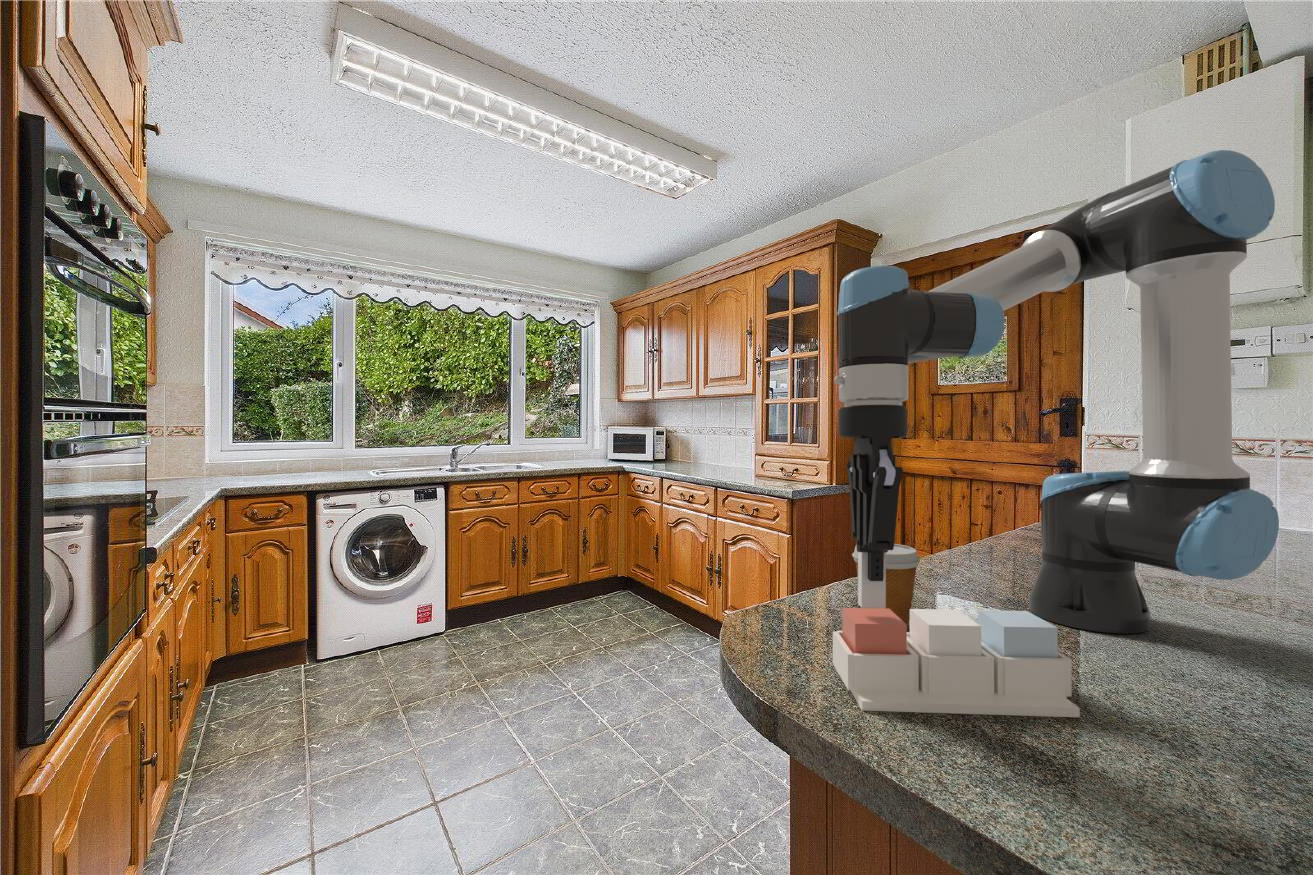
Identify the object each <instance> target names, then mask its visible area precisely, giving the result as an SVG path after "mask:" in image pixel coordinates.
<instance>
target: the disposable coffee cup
mask: <svg viewBox="0 0 1313 875" xmlns="http://www.w3.org/2000/svg"><path fill="white" fill-rule="evenodd" d="M851 556H852V557H853V561H855V568H856V574H857V577H858V551H857V544H856V545H855V547H854V552H852V554H851ZM920 561H921V558H920V557H919V556H918V552H917V549H915V547H914V548H913V547H912V546H908V545H905V544H900V543H899V544H897V543H894V548H893V550H888V552H887V553H886V608H885V609H890V610H891V611H892V612H894V613H895V614H896V615H897V616H898V617H899V618H900V619H901V620H902V621H903V622H904V623H905V624H906V625H907V632H909V631H908V630H909V628H910V609H912V602H913V596H914V589H915V588H914V587H915V581H916V575H917V574H916V571H917V567H918V565H919V563H920Z"/></svg>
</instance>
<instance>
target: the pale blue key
mask: <svg viewBox="0 0 1313 875" xmlns="http://www.w3.org/2000/svg"><path fill="white" fill-rule="evenodd" d="M977 611H978V612H977V615H978V616H977V621H978V623H977V624H979V625H980V626H981V642H983V643H984V644H986V645H987V646H988V647H990V648H991V649H992V650H994V651H995V652H996V653H998V654H999V655H1000V656H1002V657H1027V658H1058V652H1059V651H1058V634H1059V632H1058V627H1057V626H1055V625H1054V624H1051V623H1050V622H1048V621H1046V620H1045V619H1044V618H1041V617H1039V616H1037V615H1035V614H1034V613H1032V612H1031V611H1028V610H991V609H987V610H986V609H983V610H981V609H978V610H977Z"/></svg>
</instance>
